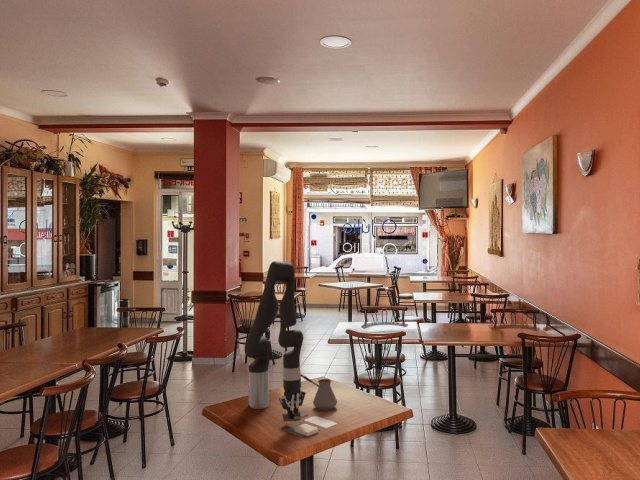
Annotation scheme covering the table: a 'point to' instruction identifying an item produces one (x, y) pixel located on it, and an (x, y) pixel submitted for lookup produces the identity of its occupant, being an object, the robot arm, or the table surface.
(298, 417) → the grey post on base
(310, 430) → the tile
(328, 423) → the rest pad
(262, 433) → the table surface
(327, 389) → the coffee pot
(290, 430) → the mat
